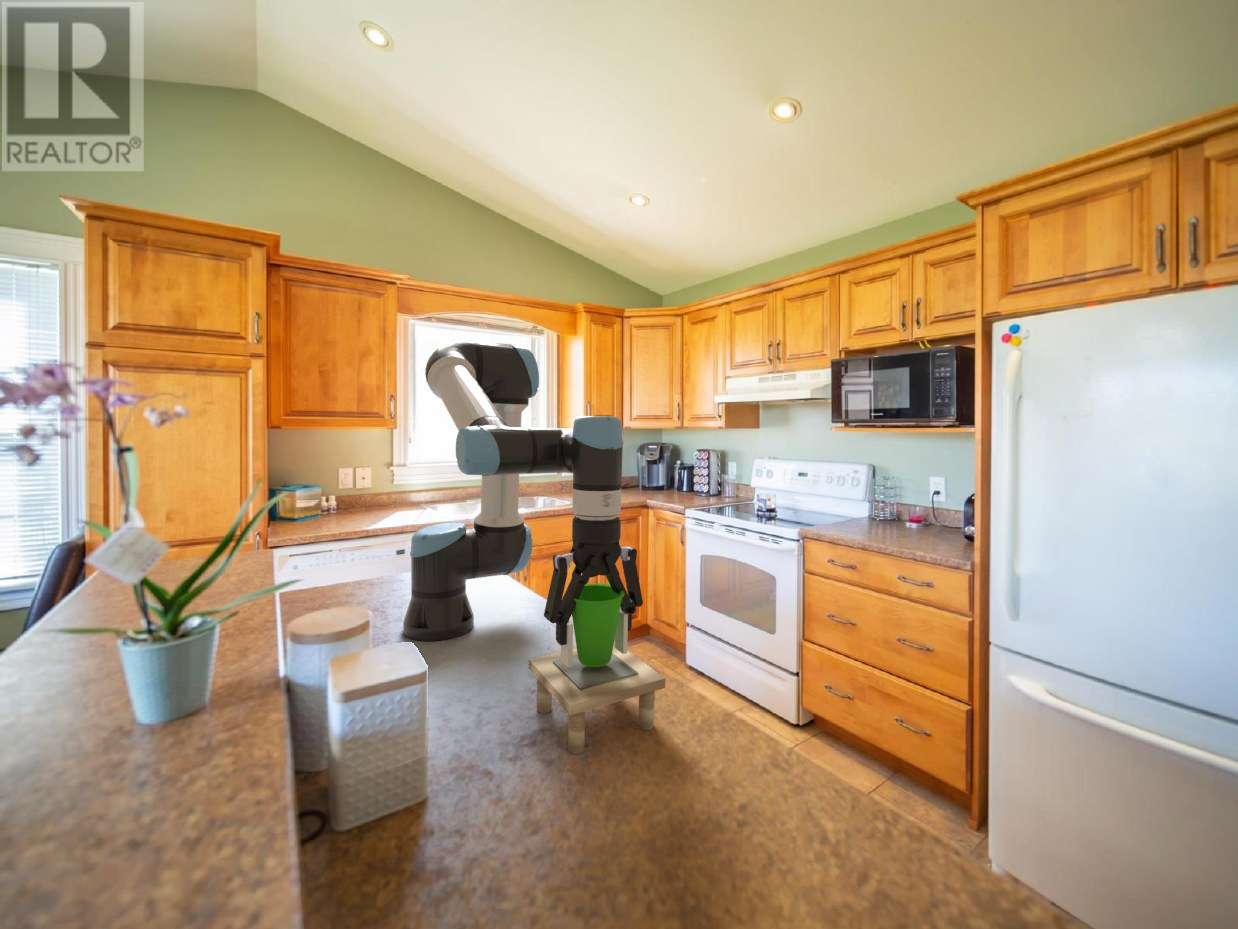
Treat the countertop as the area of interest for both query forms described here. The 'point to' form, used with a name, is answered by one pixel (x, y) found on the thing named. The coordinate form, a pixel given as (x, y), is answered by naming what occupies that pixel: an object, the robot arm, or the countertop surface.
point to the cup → (596, 623)
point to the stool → (594, 689)
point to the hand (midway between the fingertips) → (594, 656)
